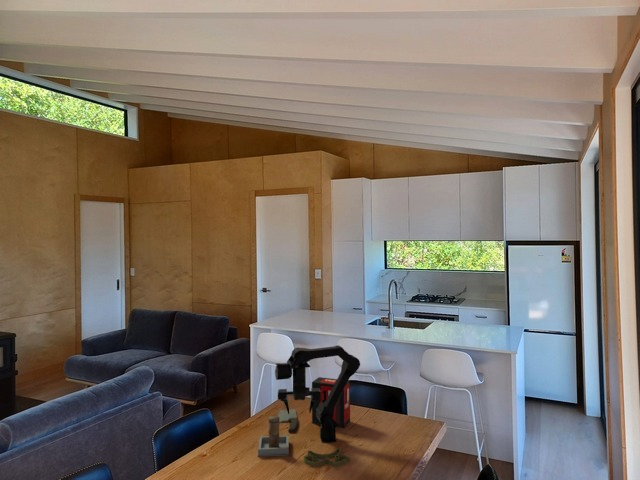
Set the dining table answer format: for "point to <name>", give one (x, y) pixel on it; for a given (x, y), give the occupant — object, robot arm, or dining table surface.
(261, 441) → the box
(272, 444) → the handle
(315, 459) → the cookie cutter
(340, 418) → the cleaning product box
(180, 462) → the dining table surface
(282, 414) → the cleaver
